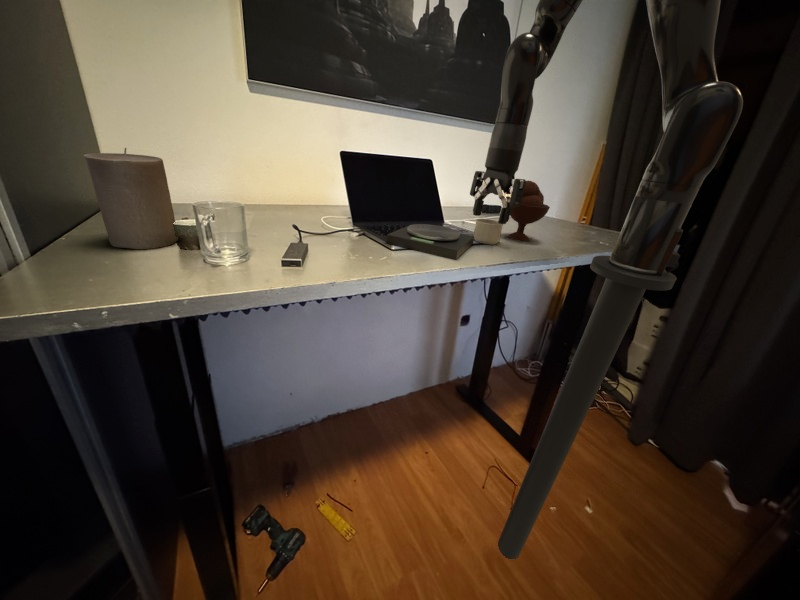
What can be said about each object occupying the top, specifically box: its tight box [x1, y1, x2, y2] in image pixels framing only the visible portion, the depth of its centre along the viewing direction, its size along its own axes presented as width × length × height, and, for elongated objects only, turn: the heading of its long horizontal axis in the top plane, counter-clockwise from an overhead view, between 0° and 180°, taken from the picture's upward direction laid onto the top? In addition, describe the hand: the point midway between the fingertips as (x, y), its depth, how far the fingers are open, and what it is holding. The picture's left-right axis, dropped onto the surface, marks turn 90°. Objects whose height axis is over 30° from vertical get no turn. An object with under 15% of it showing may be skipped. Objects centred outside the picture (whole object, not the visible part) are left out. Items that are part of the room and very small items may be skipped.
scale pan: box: [407, 223, 461, 241], centre depth 74 cm, size 12×12×1 cm
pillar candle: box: [83, 147, 179, 250], centre depth 54 cm, size 10×10×15 cm
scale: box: [386, 223, 475, 260], centre depth 75 cm, size 16×15×2 cm
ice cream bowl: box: [507, 180, 551, 242], centre depth 86 cm, size 11×11×15 cm
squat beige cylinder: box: [472, 218, 504, 245], centre depth 82 cm, size 6×6×5 cm
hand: (488, 219), depth 80 cm, fingers open, 8 cm apart
